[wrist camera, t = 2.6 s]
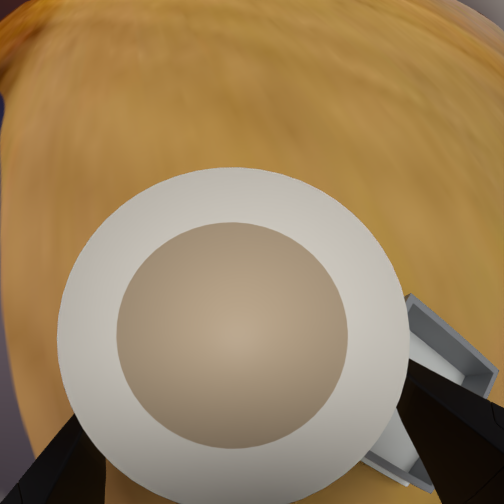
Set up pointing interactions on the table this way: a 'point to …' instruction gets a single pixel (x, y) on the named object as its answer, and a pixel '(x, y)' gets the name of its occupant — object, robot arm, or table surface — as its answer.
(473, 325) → the table surface
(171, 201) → the paper towel roll
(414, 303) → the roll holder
